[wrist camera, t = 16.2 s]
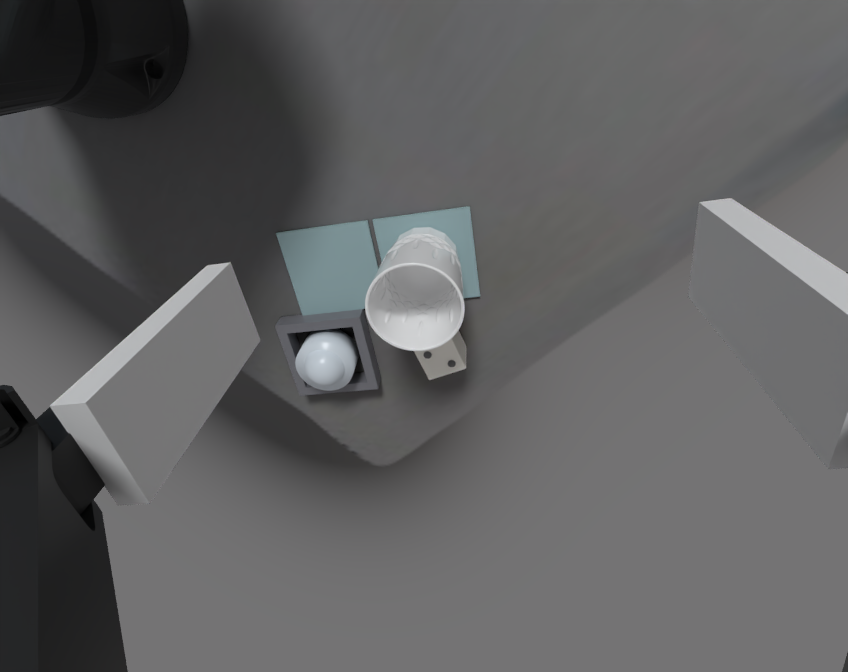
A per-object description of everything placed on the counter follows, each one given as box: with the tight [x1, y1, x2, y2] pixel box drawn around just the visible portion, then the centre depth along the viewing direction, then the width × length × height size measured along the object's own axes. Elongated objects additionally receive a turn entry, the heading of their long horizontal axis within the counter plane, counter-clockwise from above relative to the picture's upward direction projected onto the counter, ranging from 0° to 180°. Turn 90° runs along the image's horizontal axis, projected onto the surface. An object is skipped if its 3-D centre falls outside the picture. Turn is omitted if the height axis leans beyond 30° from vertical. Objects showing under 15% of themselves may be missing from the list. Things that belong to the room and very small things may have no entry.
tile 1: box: [276, 220, 379, 316], centre depth 50 cm, size 9×9×1 cm
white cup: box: [365, 227, 465, 351], centre depth 44 cm, size 8×8×10 cm
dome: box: [295, 329, 359, 391], centre depth 52 cm, size 6×6×5 cm
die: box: [414, 330, 467, 380], centre depth 51 cm, size 4×4×4 cm
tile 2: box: [373, 206, 480, 298], centre depth 48 cm, size 9×9×1 cm
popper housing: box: [275, 309, 381, 396], centre depth 54 cm, size 9×9×2 cm
